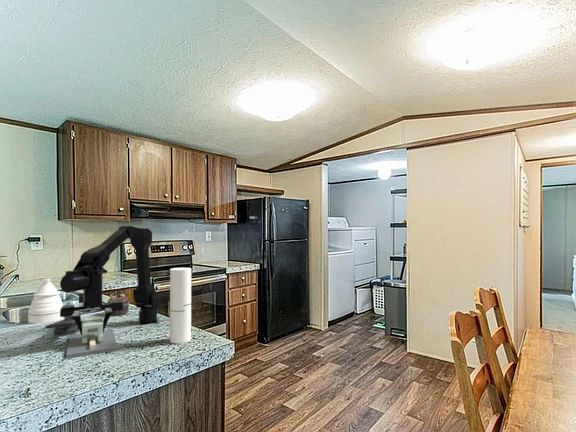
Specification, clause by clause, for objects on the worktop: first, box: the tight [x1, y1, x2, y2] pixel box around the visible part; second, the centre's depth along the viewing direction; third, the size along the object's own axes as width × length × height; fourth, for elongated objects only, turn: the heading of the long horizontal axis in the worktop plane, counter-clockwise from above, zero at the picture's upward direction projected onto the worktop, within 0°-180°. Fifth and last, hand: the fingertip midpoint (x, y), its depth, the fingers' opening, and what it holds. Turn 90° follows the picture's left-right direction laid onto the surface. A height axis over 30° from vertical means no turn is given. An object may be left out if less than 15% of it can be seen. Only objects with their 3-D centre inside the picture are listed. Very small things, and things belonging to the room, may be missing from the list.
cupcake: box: [106, 291, 130, 317], centre depth 163 cm, size 10×10×10 cm
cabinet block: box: [82, 317, 103, 343], centre depth 120 cm, size 6×11×6 cm, turn 30°
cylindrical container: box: [169, 267, 192, 344], centre depth 124 cm, size 7×7×25 cm
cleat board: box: [65, 328, 119, 359], centre depth 120 cm, size 14×24×2 cm, turn 30°
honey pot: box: [27, 278, 65, 324], centre depth 153 cm, size 13×13×18 cm
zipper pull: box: [44, 316, 83, 337], centre depth 132 cm, size 9×7×25 cm
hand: (92, 333), depth 120 cm, fingers closed on cabinet block, 6 cm apart
